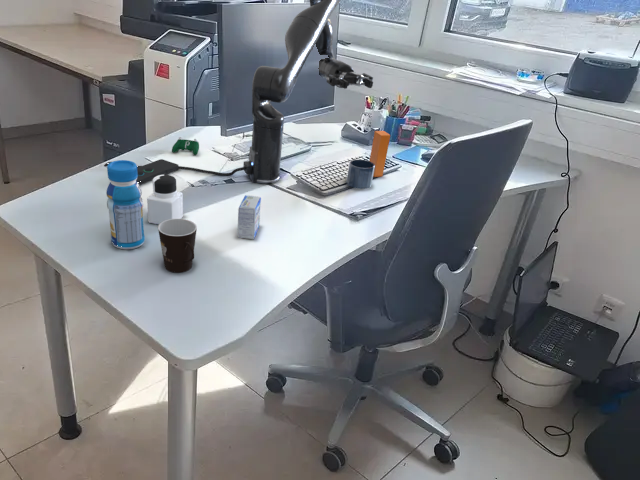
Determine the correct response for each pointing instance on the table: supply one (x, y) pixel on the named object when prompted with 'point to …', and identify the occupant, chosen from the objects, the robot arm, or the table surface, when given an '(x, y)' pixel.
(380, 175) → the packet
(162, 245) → the coffee mug
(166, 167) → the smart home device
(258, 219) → the medicine box
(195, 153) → the gaming controller
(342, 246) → the table surface
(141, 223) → the beverage bottle
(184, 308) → the table surface
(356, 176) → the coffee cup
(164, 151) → the table surface
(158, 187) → the medicine bottle
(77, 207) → the table surface
